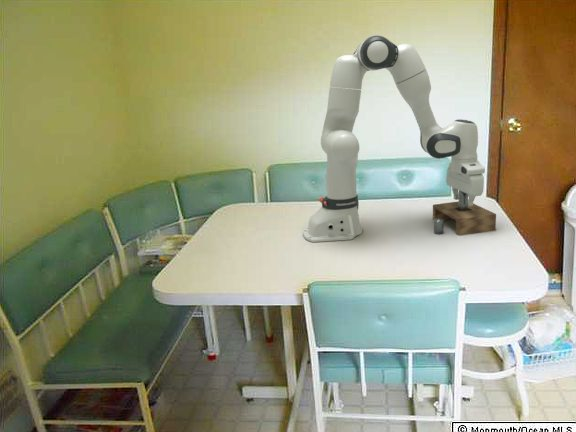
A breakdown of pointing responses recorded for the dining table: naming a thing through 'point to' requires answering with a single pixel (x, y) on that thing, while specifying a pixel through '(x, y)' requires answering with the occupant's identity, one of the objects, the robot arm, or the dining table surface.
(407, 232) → the dining table surface
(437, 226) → the short pin
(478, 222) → the bridge
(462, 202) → the long pin
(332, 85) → the robot arm
